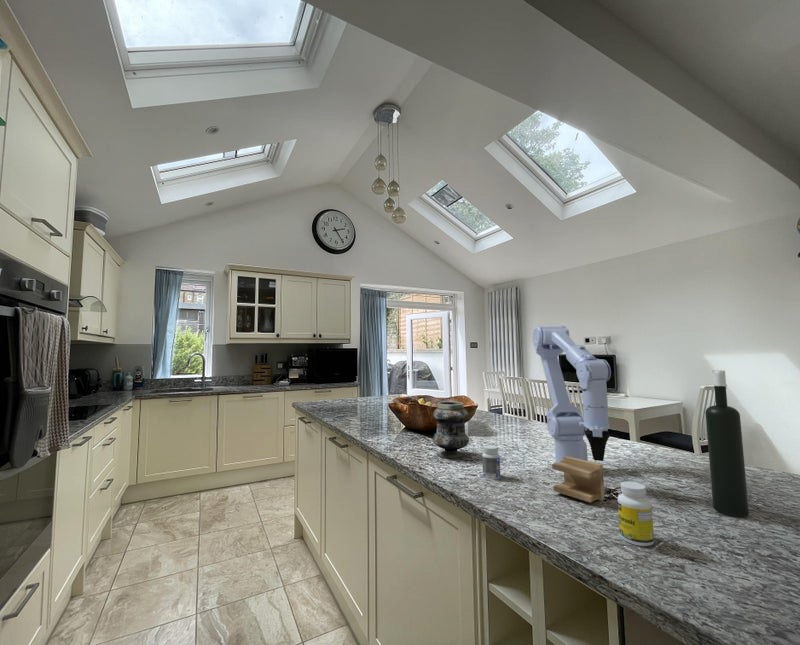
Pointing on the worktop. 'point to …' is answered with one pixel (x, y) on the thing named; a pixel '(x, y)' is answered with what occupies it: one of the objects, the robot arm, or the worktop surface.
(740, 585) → the worktop surface
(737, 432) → the wine bottle
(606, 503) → the worktop surface
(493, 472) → the pill bottle
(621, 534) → the supplement bottle
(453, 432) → the dark grey vase
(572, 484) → the tan notched block
